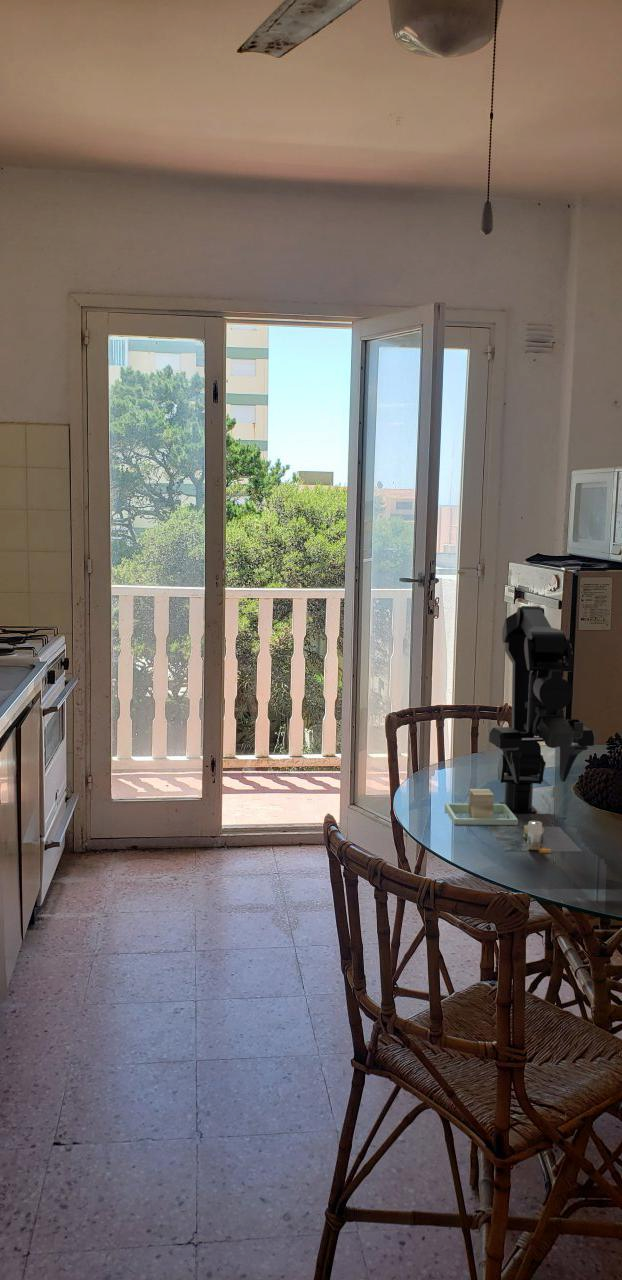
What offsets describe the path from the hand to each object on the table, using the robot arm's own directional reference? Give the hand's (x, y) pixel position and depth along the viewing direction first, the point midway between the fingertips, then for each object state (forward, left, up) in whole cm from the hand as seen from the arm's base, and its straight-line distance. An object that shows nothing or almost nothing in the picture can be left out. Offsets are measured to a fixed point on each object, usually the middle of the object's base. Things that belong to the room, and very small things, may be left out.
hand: (539, 782), depth 183 cm
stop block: (-13, -8, -12) cm, 19 cm away
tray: (-13, -8, -12) cm, 19 cm away
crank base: (+1, -1, -12) cm, 12 cm away
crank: (+4, -2, -10) cm, 11 cm away
